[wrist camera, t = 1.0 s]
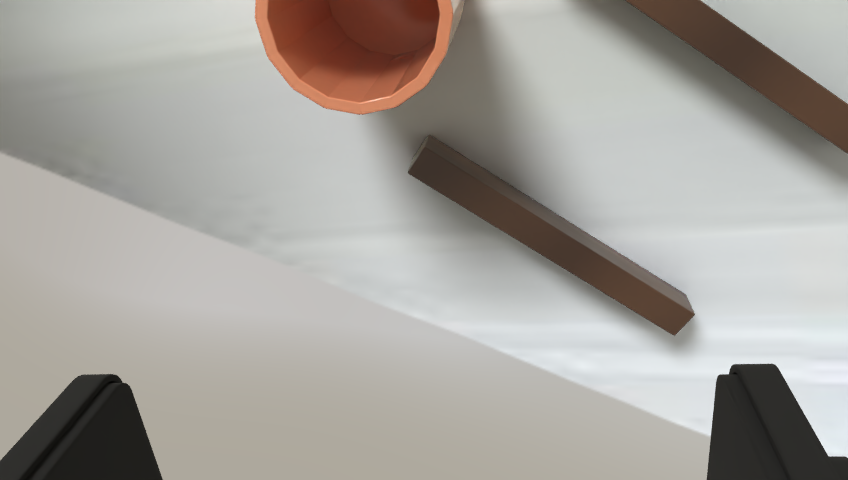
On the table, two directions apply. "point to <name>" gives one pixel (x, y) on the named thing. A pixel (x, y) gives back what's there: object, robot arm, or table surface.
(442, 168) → the guide rails
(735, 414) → the robot arm
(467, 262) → the table surface
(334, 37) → the peach cup
